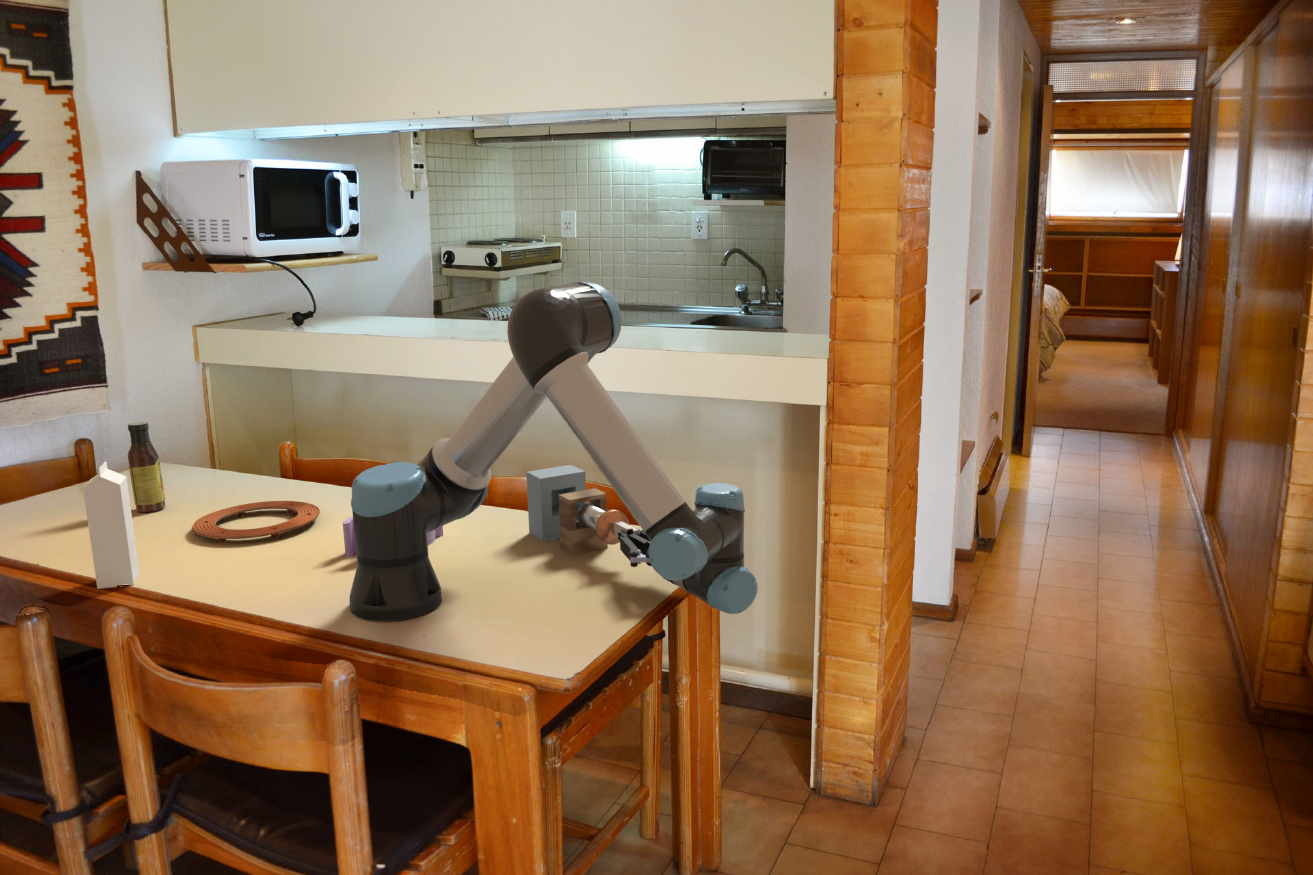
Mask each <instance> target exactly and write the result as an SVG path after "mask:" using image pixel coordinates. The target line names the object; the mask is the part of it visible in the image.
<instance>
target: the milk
mask: <svg viewBox="0 0 1313 875" xmlns="http://www.w3.org/2000/svg"><path fill="white" fill-rule="evenodd" d="M82 491H83V492H82V493H83V499H84V506H85V513H86V521H87V526H88V531H89V532H88V533H89V539H90V540H89V542H90V546H91V553H92V560H93V566H94V574H95V581H96V588H97V590H99V589H109V588H117V585H122V584H134V585H135V583H136V581H137V580H136V578H137V577H139V576H140V568H139V567H140V566H139V559H138V552H137V545H136V538H135V530H134V523H133V516H132V515H133V514H132V510H131V499H130V493H129V486H128V478H127V476H126V475H125V474H121V473H119V472H117V471H114V470H111V469H109V468H108V463H107V461H106V460H105V461H104V462H103V463H102V464H101V465H100V467H98V474H97V475H95V476H94V477H92V478H90V479H89V480H88V482H87V483H85V485H84V486H83V487H82ZM138 575H139V576H138ZM137 579H138V578H137ZM135 580H136V581H135ZM134 582H135V583H134Z"/></svg>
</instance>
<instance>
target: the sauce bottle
mask: <svg viewBox="0 0 1313 875" xmlns="http://www.w3.org/2000/svg"><path fill="white" fill-rule="evenodd" d="M127 429H128V432H129V436H130V448H129V450H128V452H127V460H128V465H129V466H128V469H129V476H130V482H131V488H132V494H133V500H134V501H133V502H134V506H135V509H136V511H137V512H139V513H151V512H157V511H161V510H162V509H164V508H165V507H166V495H165V490H164V483H163V476H162V469H161V463H160V458H159V454H158V453H157V451H156V449H155V447H154V445H153V444H152V442H151V439H150V434H149V433H150V432H149V423H148V422H147V421H135V422H131V423H128V424H127Z"/></svg>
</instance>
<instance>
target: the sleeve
mask: <svg viewBox="0 0 1313 875" xmlns="http://www.w3.org/2000/svg"><path fill="white" fill-rule="evenodd" d="M584 501H586V502H589V503H590V504H592V505H594V506H596V507H598V508H600V509H602V510H604V511H608V509H607V493H606V492H604V491H602V490H599V489H597V488H590V489H586V490H583V491H577V492H571V493H565V494H560V495H559V519H560V538H559V540H560V541H559V543H560V545H559V546H560V549H561V550H562V551H564V552H565V553H567V554H568V555H570V556H574V555H577V554H578V555H579V554H584V553H589V552H594V551H598V550H602V549H608V546H609V544H606V543H604V542H603V541H601V540H600V539H599V538H598V536H597V534H596V530H594V529H592V528H591V527H589V526H587V525H585V524H583V523H581V522H576V508H575V503H579V502H584Z"/></svg>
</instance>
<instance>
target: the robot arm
mask: <svg viewBox="0 0 1313 875" xmlns="http://www.w3.org/2000/svg"><path fill="white" fill-rule="evenodd" d="M506 330H507V331H506V332H507V341H508V345H509V348H510V351H511V354H512V358H511V359H510V361H509V362H508V363H507V364H506V365H505V367H504V369H502V370H501V372H500V373H499V374H498V375H497V377H496V379H495V380H494V381H493V382H492V384H491V385H490V386H489V387H488V389H486V390H487V391H486V392H485V393H484V394H483V395H482V397H481V398H480V399H479V401H477V403H476V404H475V406H474V407H473V409H472V410H471V411H469V413H468V415H467V416H466V418H465V419H464V420H463V422H462V423H461V424H460V425H459V427H458V428H457V429H456V430H455V432H454V433H453V434H452V436H451V437H444V438H440V439H439V440H437V441H436V442H435V443H434V445H432V447H431V448H430V450H429V451H428V452H427V453H426V455H425V456H424V457H423V459H422V460H420V462H419V463H417V464H415V463H411V462H405V461H402V462H401V461H399V462H388V463H386V464H383V465H382V464H380V465H379V464H378V465H376V466H373V467H370V468H368V469H366V470H363V471H362V472H361V473H359V474H358V475H357V476H356V477H355V478H354V479H353V480H352V485H351V499H350V507H351V511H352V516H353V522H354V533H355V543H356V552H355V553H356V561H357V563H356V564H357V565H356V569H355V574H354V578H353V581H352V585H351V589H350V593H349V600H348V601H349V609H350V612H351V614H352V615H353V616H355V617H356V618H359V619H362V620H366V621H371V622H396V621H397V622H398V621H405V620H409V619H414V618H417V617H418V618H419V617H421V616H424V615H426V614H428V613H431V612H433V611H434V610H436V609H438V607H439V606H441V604H442V602H443V597H442V596H443V595H442V586H441V583H440V581H439V579H438V577H437V574H436V571H435V570H434V567H433V565H432V563H431V560H430V556H429V545H428V542H427V533H428V532H431V531H433V530H435V529H437V528H439V527H441V526H443V527H444V526H445V525H448V524H450V523H452V522H454V521H456V520H461V519H463V518H465V517H467V516H469V515H471V514H472V513H473V512H474V511H476V510H477V509H478V508H479V507H480V506H481V505H482V503H483V502H484V501H485V499H486V497H487V494H488V489H489V486H488V485H489V484H490V482H491V480H492V471H491V468H492V466H494V464H495V463H496V462H497V461H498V459H499V458H500V457H501V456H502V455H503V453H504V452H505V451H506V450H507V449H508V447H509V446H510V445H511V444H512V442H513V441H514V440H515V438H517V436H518V435H519V434H520V432H521V431H522V430H523V428H525V426H526V425H527V423H528V422H530V420H531V419H532V417H533V416H534V415H535V414H536V413H537V412H538V410H540V408H541V407H542V405H543V404H544V403H545V401H546V400H547V399H548V400H549V401H550V402H551V404H552V405H553V407H554V408H555V409H556V410H557V412H558V414H559V415H560V416H561V418H562V419H563V421H564V422H565V423H566V425H567V426H568V427H569V430H571V432H572V433H573V435H574V437H576V439H577V440H578V442H579V443H580V444H581V445H582V447H583V449H584V450H585V451H586V453H587V454H588V456H590V458H591V460H592V461H593V462H594V464H595V465H596V467H597V468H598V469H599V471H600V472H601V474H602V475H603V476H604V478H605V479H606V480H607V483H608V484H610V486H611V488H612V489H613V491H614V492H615V493H616V494H617V496H618V497H619V499H620V500H621V501H622V503H623V504H624V506H625V507H626V509H627V510H628V511H629V513H630V514H631V516H632V517H633V518H634V519H635V521H636V523H638V525H639V527H640V528H641V529H639V528H637V527H634V526H632V525H630V524H629V525H628V524H626V523H624V522H622V521H617V522H614V536H615V537H616V538H618V539H619V540H620V542H619V549H620V551H621V552H622V553H623V555H624V556H625V557H626V558H627V559H628V561H630V564H629V565H630V567H632V568H636V567H638V566H639V565H641V564H642V563H645V564H646V565H647V566H649V567H652V569H653V570H654V572H656V573H657V574H658V575H659V576H660V577H661V578H663V579H664V580H666V581H667V582H670V583H671V584H673V585H674V586H676V587H679V588H680V589H682V590H684V591H686V592H688V593H689V594H691V595H692V596H694V597H695V598H698V599H699V600H701V601H703V602H704V603H705V604H707V605H709V606H710V607H711V608H713V609H715V610H718V611H720V612H723V613H725V614H729V615H737V614H741V613H743V612H746V611H747V610H748V609H749V608H750V607H751V606H752V605H753V603H754V601H755V600H756V597H757V593H758V588H759V586H758V581H757V579H756V577H755V575H754V573H753V572H752V571H750V570H749V569H748V568H747V567H745V554H744V551H745V546H744V545H745V512H746V509H745V500H744V493H743V490H742V489H741V488H740V487H738V486H737V485H734V484H732V483H731V484H730V483H725V482H723V483H722V482H721V483H720V482H714V483H707V484H704V485H701V486H699V487H698V488H697V489H696V490H695V498H694V502H693V504H694V507H695V508H694V510H693V509H692V508H691V507H690V506H689V504H688V503H687V501H686V500H685V499H684V498H683V496H682V495H681V493H680V492H679V491H678V490H677V487H676V486H675V485H674V484H673V482H672V481H671V479H670V478H669V477H668V475H667V473H665V471H664V469H663V468H662V467H661V466H660V464H659V463H658V461H657V460H656V459H655V457H654V456H653V454H652V453H651V451H650V450H649V448H648V447H647V446H646V445H645V443H644V442H643V440H642V439H641V438H640V436H639V434H638V433H637V432H636V431H635V429H634V428H633V426H632V425H631V423H630V422H629V421H628V419H627V418H626V416H625V414H623V412H622V410H621V409H620V408H619V406H618V405H617V404H616V402H615V401H614V400H613V398H612V397H611V396H610V394H609V393H608V391H607V389H605V387H604V386H603V385H602V383H601V381H600V380H599V379H598V377H597V376H596V374H595V373H594V372H593V370H592V369H591V367H590V366H589V365H588V364H589V363H590V362H591V361H592V359H593V358H594V357H595V356H596V355H597V354H601V353H605V352H607V350H608V349H610V348H611V347H612V346H613V345H615V343H616V342H617V340H618V339H619V337H620V333H621V332H622V331H621V330H622V318H621V309H620V307H619V304H618V303H617V300H616V299H615V297H614V296H613V295H612V294H611V292H609V291H608V290H607V289H606V288H605V287H604V286H601V285H599V284H597V283H594V282H589V281H588V282H585V281H574V282H570V283H566V284H561V285H555V286H550V287H541V288H536V289H533V290H531V291H528V292H527V293H526V294H524V295H523V296H522V297H521V298H519V299H518V300H517V302H516V303H515V305H513V307H512V309H511V311H510V314H509V317H508V322H507V329H506Z"/></svg>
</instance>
